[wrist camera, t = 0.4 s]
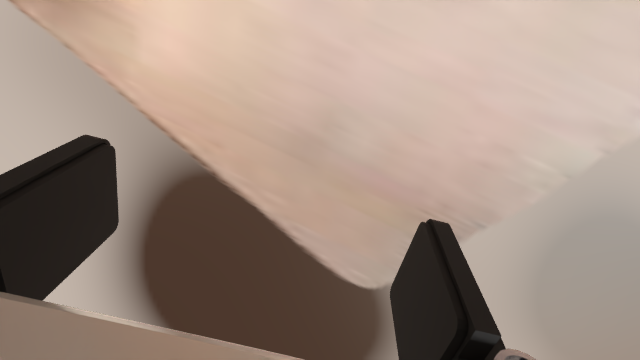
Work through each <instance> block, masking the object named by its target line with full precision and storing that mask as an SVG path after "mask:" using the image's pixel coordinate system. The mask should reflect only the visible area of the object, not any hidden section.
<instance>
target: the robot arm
mask: <svg viewBox="0 0 640 360" xmlns="http://www.w3.org/2000/svg"><path fill="white" fill-rule="evenodd" d="M117 226H118V198H117V178H116V157H115V149H114V147H113V146H110V143H109V141H108V140H106V139H101V138H97V137H93V136H89V135H83V136H81V137H78V138H77V139H74V140H72V141H70V142H68V143H66V144H64V145H62V146H60V147H58V148H56V149H53V150H51V151H49V152H47V153H45V154H43V155H41V156H39V157H37V158H35V159H33V160H31V161H28V162H26V163H24V164H22V165H20V166H18V167H16V168H14V169H12V170H10V171H8V172H5V173H4V174H1V175H0V360H304V359H299V358H295V357H291V356H286V355H282V354H277V353H273V352H269V351H264V350H260V349H256V348H252V347H247V346H243V345H238V344H234V343H229V342H225V341H221V340H216V339H211V338H207V337H203V336H198V335H194V334H189V333H185V332H181V331H176V330H172V329H167V328H163V327H158V326H154V325H149V324H145V323H140V322H136V321H131V320H127V319H123V318H118V317H114V316H109V315H104V314H100V313H95V312H91V311H86V310H81V309H77V308H72V307H68V306H63V305H58V304H54V303H49V302H45V301H42V300H44V299H45V298H46V296H48V295H49V294H50V293H51V292H52V291H53V290H54V289H55V288H56V287H57V286H58V285H59V284H60V283H61V282H62V281H63V280H64V279H65V278H67V277H68V276H69V275H70V274H71V273H72V272H73V271H74V270H75V269H76V268H77V267H78V266H79V265H80V264H81V263H82V262H83V261H84V260H85V259H86V258H87V257H89V256H90V255H91V254H92V253H93V252H94V251H95V250H96V249H97V248H98V247H99V246H100V245H101V244H102V243H103V242H104V241H105V240H106V239H107V238H108V237H109V236H110V235H112V234H113V232H114V231H115V230H116V228H117ZM390 300H391V306H392V314H393V321H394V327H395V334H396V341H397V349H398V356H399V360H536V359H534V358H533V357H531V356H530V355H528V354H526V353H523V352H521V351H518V350H514V349H506V348H505V346H504V344H503V341H502V339H501V334H500V332H499V330H498V328H497V326H496V324H495V321H494V319H493V317H492V315H491V313H490V311H489V308H488V307H487V304H486V302H485V300H484V298H483V296H482V293H481V291H480V289H479V287H478V285H477V283H476V281H475V278H474V276H473V274H472V272H471V270H470V268H469V265H468V264H467V261H466V259H465V257H464V255H463V253H462V251H461V248H460V246H459V244H458V242H457V240H456V238H455V235H454V233H453V231H452V229H451V227H450V225H449V224H448V223H444V222H440V221H436V220H432V219H429V220H428V221H427V222H426V223H425V222H421V223H420V225H419V227H418V229H417V231H416V233H415V235H414V238H413V240H412V242H411V244H410V246H409V249H408V251H407V253H406V255H405V257H404V260H403V262H402V264H401V266H400V268H399V271H398V273H397V275H396V277H395V280H394V282H393V284H392V287H391V291H390Z"/></svg>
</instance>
